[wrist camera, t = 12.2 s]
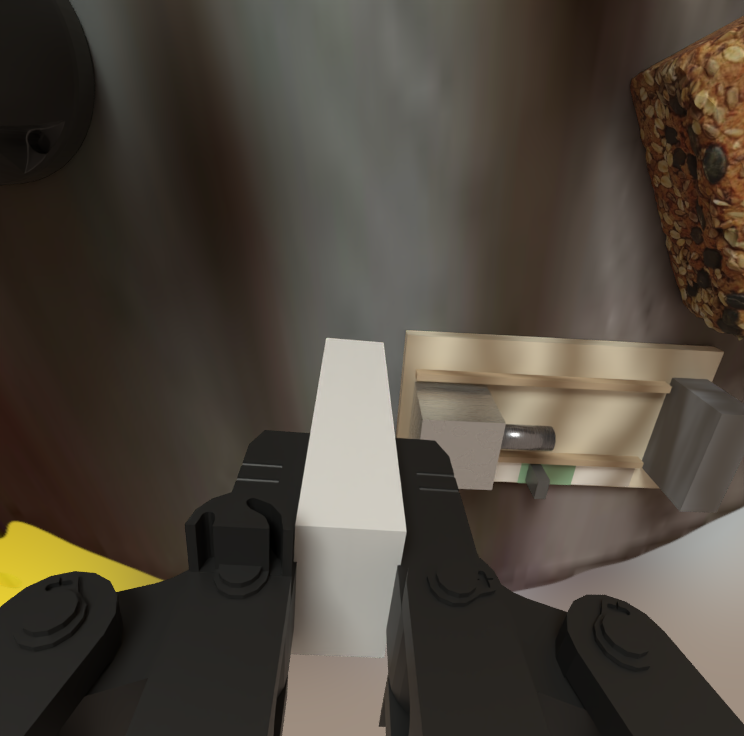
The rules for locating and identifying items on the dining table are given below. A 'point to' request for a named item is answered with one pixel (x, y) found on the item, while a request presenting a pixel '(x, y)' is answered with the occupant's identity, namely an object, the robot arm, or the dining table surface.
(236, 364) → the dining table surface
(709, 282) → the bread
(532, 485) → the dark grey square block
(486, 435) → the cube with metal rod
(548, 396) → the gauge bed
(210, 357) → the dining table surface
